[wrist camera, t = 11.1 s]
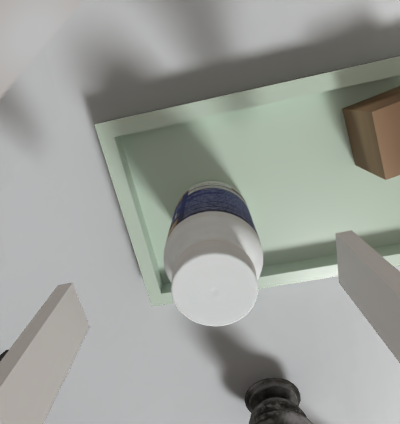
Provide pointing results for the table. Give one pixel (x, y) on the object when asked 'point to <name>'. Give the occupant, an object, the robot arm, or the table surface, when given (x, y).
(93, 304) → the table surface
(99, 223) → the table surface
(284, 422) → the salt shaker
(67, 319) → the robot arm
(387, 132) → the walnut block
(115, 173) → the tray
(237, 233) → the pill bottle
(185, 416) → the table surface
